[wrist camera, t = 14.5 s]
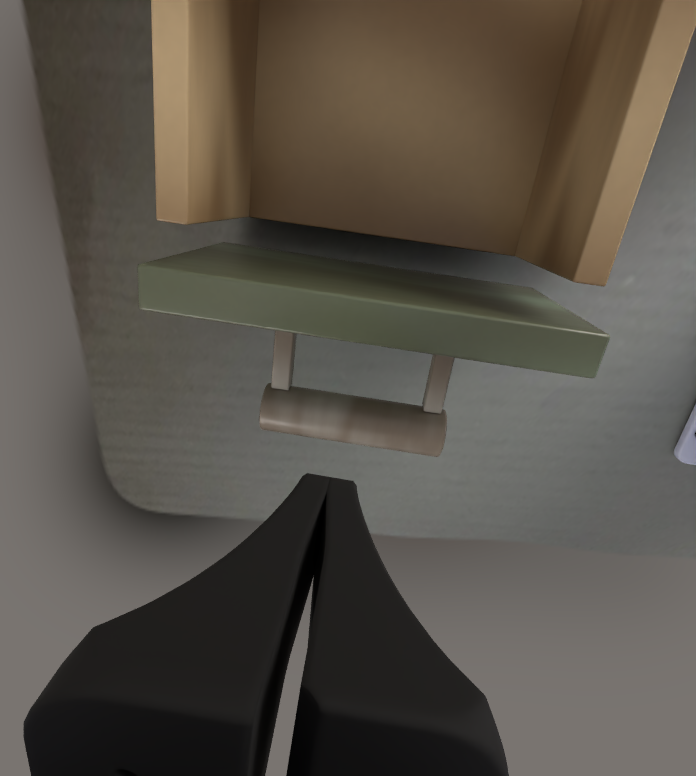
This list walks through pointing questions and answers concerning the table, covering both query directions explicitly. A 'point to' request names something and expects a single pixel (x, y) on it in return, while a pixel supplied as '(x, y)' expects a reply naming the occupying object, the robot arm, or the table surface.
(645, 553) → the table surface
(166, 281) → the drawer
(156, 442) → the table surface
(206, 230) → the table surface
